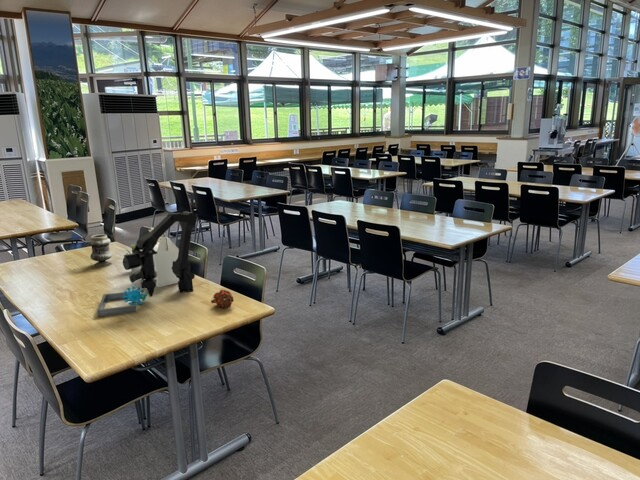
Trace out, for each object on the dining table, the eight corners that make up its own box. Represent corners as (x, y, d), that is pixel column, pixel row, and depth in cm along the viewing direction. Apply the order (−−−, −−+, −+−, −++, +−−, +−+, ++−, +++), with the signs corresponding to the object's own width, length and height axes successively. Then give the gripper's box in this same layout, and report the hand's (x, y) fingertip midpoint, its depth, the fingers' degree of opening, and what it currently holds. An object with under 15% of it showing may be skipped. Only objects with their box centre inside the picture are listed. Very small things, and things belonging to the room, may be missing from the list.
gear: (123, 305, 209) (122, 285, 213) (122, 311, 213) (120, 292, 218) (149, 303, 214) (147, 284, 219) (147, 309, 218) (145, 290, 223)
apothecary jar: (107, 267, 274) (104, 237, 270) (87, 267, 275) (83, 238, 270) (116, 261, 286) (113, 233, 282) (97, 261, 286) (93, 233, 282)
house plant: (157, 269, 268) (154, 242, 264) (136, 275, 257) (133, 247, 253) (141, 266, 276) (138, 239, 272) (120, 272, 264) (117, 244, 260)
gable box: (142, 277, 254) (136, 227, 247) (165, 272, 262) (161, 224, 255) (158, 287, 237) (153, 234, 231) (183, 281, 245) (178, 230, 239)
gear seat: (139, 296, 225) (138, 290, 224) (136, 312, 205) (135, 305, 204) (104, 300, 220) (103, 294, 220) (97, 317, 201) (96, 310, 200)
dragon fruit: (230, 314, 205) (215, 311, 214) (241, 298, 209) (226, 296, 218) (218, 302, 201) (204, 299, 209) (230, 286, 205) (215, 284, 213)
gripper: (130, 261, 221) (134, 292, 224) (127, 272, 204) (131, 305, 207) (155, 258, 224) (158, 289, 228) (154, 269, 207) (157, 302, 210)
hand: (151, 296), depth 218 cm, fingers closed
